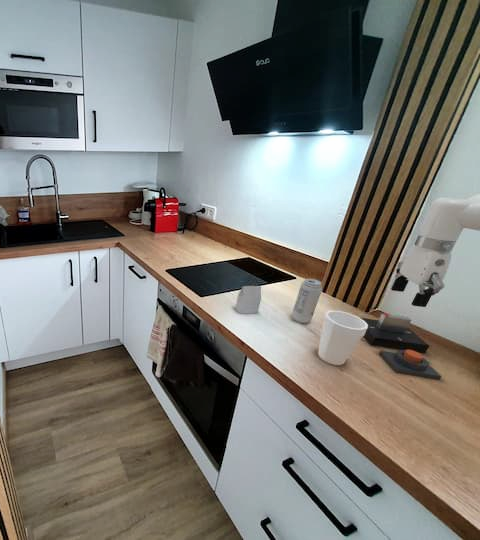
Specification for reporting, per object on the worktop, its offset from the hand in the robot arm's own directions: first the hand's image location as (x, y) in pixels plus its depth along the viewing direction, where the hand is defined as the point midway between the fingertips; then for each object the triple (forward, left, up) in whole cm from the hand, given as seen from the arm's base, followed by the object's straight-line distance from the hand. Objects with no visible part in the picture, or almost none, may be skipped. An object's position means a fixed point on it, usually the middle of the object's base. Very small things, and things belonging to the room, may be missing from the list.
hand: (407, 298), depth 86 cm
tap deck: (0, -1, -15) cm, 15 cm away
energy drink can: (+24, -5, -15) cm, 29 cm away
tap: (0, -1, -12) cm, 12 cm away
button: (+2, +13, -13) cm, 18 cm away
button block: (+2, +13, -15) cm, 20 cm away
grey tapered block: (+42, -6, -15) cm, 45 cm away
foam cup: (+22, +15, -15) cm, 31 cm away
